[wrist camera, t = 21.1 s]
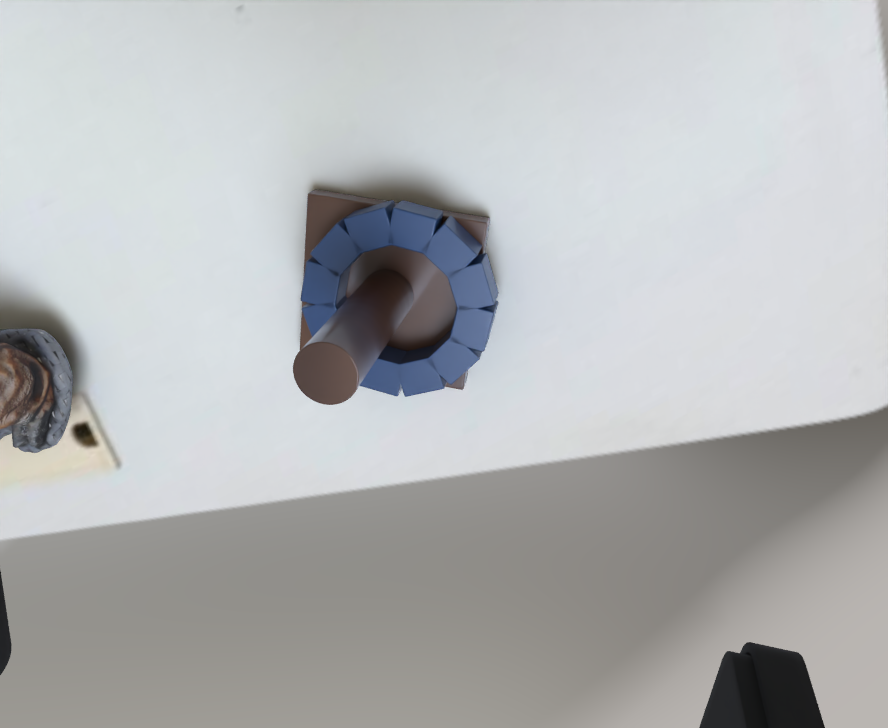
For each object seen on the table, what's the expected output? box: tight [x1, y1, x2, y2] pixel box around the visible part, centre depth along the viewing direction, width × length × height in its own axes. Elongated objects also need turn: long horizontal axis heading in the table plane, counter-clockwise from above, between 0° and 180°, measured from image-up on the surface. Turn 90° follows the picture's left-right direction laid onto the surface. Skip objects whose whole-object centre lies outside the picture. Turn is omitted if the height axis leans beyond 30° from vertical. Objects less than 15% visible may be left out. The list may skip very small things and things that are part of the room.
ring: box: [301, 200, 498, 397], centre depth 35 cm, size 8×8×2 cm
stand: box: [293, 190, 490, 405], centre depth 32 cm, size 8×8×10 cm
